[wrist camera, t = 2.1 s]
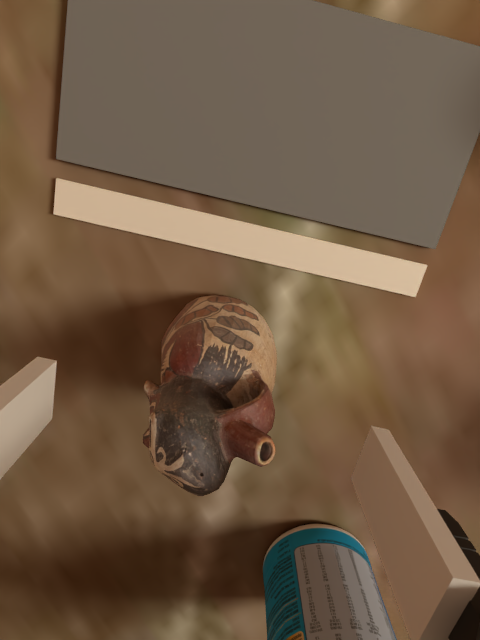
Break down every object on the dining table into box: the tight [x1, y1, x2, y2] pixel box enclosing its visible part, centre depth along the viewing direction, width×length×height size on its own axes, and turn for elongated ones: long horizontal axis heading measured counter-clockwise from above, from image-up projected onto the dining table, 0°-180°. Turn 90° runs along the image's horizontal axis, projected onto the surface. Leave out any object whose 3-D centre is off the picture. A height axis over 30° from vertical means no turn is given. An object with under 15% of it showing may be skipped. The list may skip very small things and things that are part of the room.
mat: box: [56, 0, 480, 249], centre depth 20 cm, size 10×22×1 cm, turn 77°
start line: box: [53, 178, 427, 297], centre depth 22 cm, size 2×22×1 cm, turn 77°
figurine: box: [143, 295, 277, 496], centre depth 19 cm, size 7×7×12 cm
